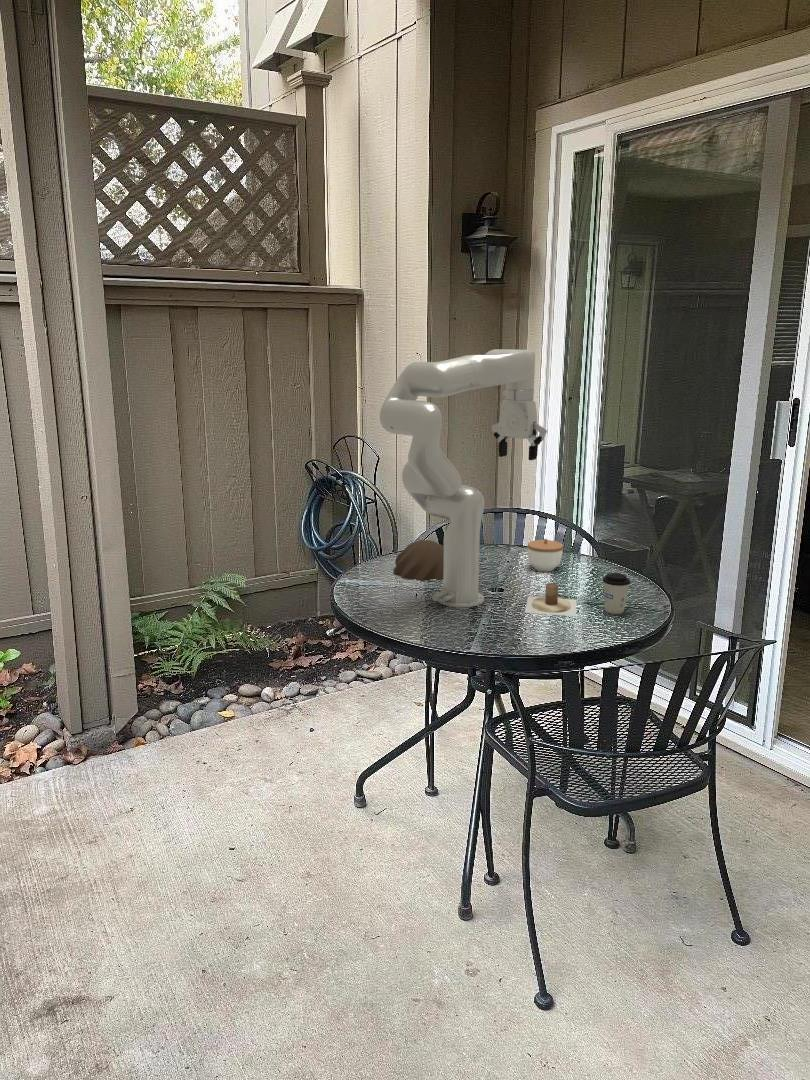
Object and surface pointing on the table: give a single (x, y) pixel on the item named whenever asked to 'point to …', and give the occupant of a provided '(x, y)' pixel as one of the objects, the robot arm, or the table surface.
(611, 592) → the coffee cup
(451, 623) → the table surface
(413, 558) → the decorative dome
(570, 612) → the mat
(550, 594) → the lid
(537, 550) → the lidded jar
